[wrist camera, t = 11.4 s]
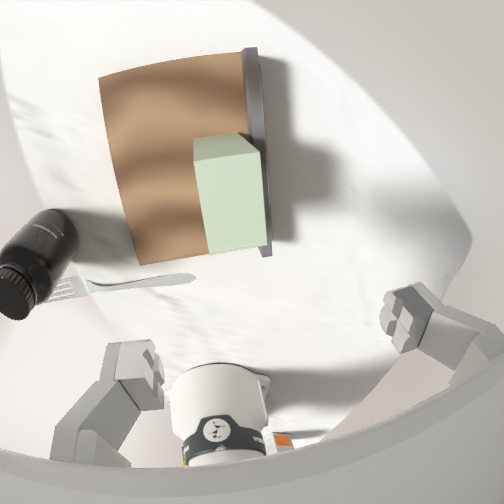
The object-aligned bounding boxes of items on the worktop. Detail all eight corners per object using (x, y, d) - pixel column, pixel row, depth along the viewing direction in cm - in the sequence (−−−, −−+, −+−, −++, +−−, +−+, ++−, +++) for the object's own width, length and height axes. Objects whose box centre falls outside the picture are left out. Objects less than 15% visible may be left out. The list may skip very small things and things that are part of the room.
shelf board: (265, 237, 33) (274, 255, 30) (141, 258, 32) (137, 278, 28) (250, 53, 23) (259, 47, 20) (102, 78, 21) (89, 76, 18)
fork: (223, 283, 36) (225, 292, 35) (48, 297, 32) (44, 306, 31) (222, 261, 35) (223, 269, 33) (40, 278, 31) (35, 286, 29)
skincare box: (290, 433, 63) (302, 473, 52) (279, 440, 64) (290, 479, 54) (271, 431, 60) (283, 474, 50) (260, 439, 61) (271, 480, 51)
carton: (237, 132, 26) (260, 151, 17) (244, 196, 29) (267, 245, 21) (193, 138, 25) (192, 161, 17) (203, 203, 29) (208, 255, 20)
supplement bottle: (71, 203, 27) (21, 262, 17) (86, 257, 30) (52, 330, 20) (24, 212, 26) (-31, 269, 16) (40, 263, 29) (0, 330, 19)
